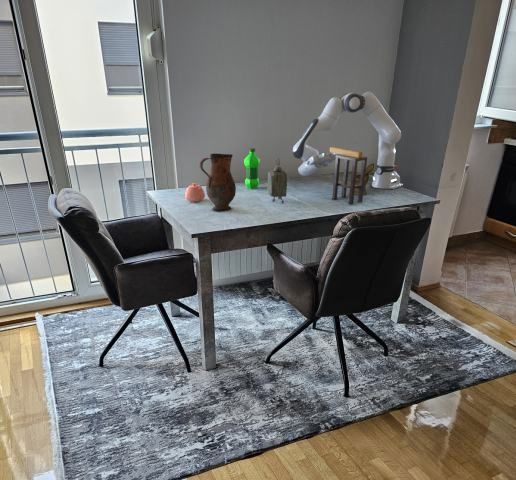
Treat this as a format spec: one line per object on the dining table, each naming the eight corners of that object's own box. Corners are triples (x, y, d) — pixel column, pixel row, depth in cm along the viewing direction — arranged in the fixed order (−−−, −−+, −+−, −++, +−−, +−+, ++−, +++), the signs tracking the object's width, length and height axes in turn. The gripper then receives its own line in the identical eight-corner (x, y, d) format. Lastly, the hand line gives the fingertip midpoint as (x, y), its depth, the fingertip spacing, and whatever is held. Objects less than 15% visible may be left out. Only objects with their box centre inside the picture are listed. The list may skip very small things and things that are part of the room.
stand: (343, 196, 299) (347, 153, 285) (362, 201, 288) (367, 157, 274) (332, 199, 294) (335, 154, 280) (350, 204, 283) (355, 158, 269)
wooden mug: (374, 193, 307) (378, 164, 297) (357, 195, 302) (360, 166, 292) (366, 190, 314) (369, 162, 304) (349, 192, 309) (352, 163, 299)
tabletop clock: (286, 204, 283) (287, 160, 270) (271, 204, 282) (272, 160, 269) (281, 198, 295) (282, 156, 282) (267, 198, 294) (267, 156, 281)
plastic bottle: (259, 189, 315) (259, 149, 302) (244, 189, 315) (243, 149, 302) (260, 186, 323) (260, 147, 310) (244, 186, 323) (244, 147, 311)
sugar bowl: (197, 196, 298) (196, 180, 292) (211, 200, 289) (210, 183, 284) (181, 200, 290) (180, 183, 285) (195, 204, 282) (194, 187, 277)
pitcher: (242, 209, 272) (241, 154, 256) (211, 216, 261) (208, 159, 245) (226, 203, 283) (224, 150, 268) (195, 209, 272) (191, 154, 256)
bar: (333, 151, 290) (333, 146, 288) (362, 157, 273) (362, 151, 272) (329, 152, 288) (330, 147, 287) (358, 157, 272) (359, 152, 270)
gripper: (303, 159, 296) (316, 150, 285) (326, 156, 307) (340, 146, 295) (305, 169, 297) (319, 160, 285) (329, 165, 307) (343, 156, 296)
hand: (330, 153), depth 290 cm, fingers open, 8 cm apart
